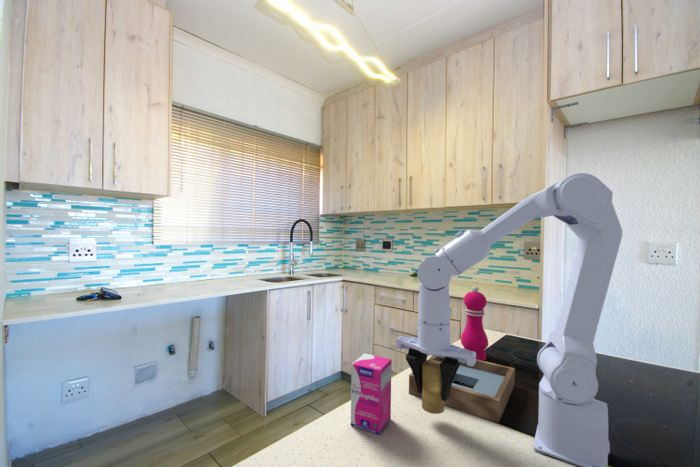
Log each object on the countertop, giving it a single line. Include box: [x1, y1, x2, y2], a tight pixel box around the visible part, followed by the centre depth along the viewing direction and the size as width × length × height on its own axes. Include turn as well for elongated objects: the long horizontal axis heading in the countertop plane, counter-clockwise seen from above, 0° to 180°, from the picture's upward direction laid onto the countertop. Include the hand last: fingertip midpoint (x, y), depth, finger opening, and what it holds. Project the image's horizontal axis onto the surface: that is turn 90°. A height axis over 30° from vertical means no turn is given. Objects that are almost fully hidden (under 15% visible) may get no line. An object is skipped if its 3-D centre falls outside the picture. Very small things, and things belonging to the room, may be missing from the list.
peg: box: [421, 359, 445, 415], centre depth 60 cm, size 4×4×8 cm
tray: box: [408, 355, 516, 423], centre depth 72 cm, size 18×18×4 cm
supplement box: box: [350, 353, 393, 435], centre depth 59 cm, size 6×6×12 cm
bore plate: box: [440, 361, 505, 397], centre depth 72 cm, size 16×16×2 cm
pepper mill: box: [460, 285, 489, 361], centre depth 91 cm, size 7×7×20 cm
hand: (433, 394), depth 60 cm, fingers closed on peg, 4 cm apart
